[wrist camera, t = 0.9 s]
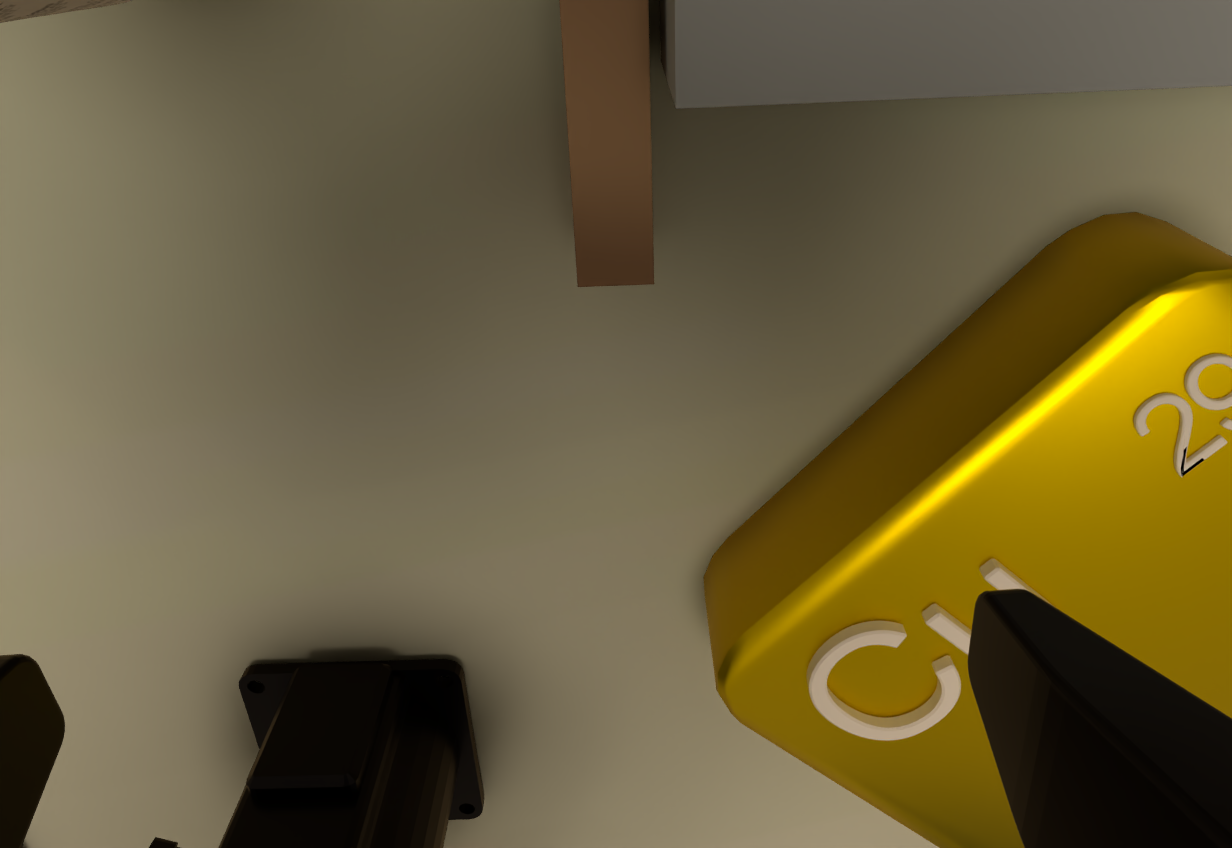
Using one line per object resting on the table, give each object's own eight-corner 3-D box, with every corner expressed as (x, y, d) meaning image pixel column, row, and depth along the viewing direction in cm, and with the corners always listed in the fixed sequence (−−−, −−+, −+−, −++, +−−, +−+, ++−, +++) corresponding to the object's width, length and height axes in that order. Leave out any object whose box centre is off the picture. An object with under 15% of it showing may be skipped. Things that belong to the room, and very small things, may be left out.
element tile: (1006, 805, 30) (1069, 947, 26) (670, 579, 26) (680, 707, 21) (1447, 523, 24) (1618, 646, 20) (1117, 167, 20) (1250, 232, 16)
